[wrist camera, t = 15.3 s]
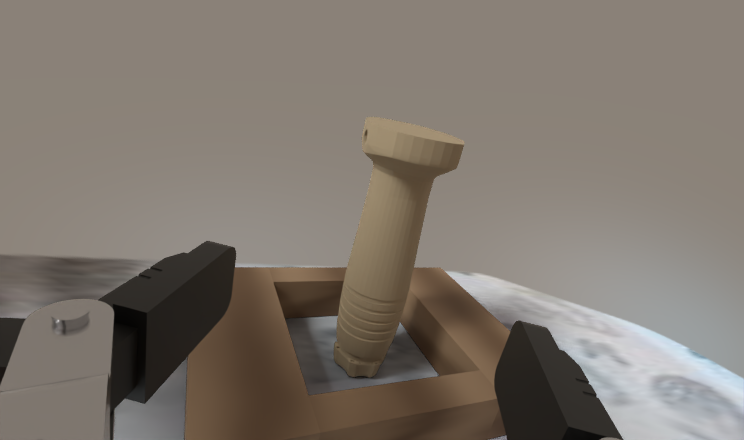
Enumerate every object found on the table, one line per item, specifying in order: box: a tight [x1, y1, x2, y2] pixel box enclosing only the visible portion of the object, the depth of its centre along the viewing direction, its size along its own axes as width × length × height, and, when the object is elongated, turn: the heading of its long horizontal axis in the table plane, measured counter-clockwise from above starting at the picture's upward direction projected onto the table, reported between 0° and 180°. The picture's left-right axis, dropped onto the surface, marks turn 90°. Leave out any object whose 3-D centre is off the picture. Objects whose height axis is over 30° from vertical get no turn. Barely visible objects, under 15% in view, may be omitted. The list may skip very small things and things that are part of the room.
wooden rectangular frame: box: [184, 267, 510, 440], centre depth 24 cm, size 20×14×3 cm
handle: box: [334, 117, 464, 378], centre depth 22 cm, size 5×6×15 cm
